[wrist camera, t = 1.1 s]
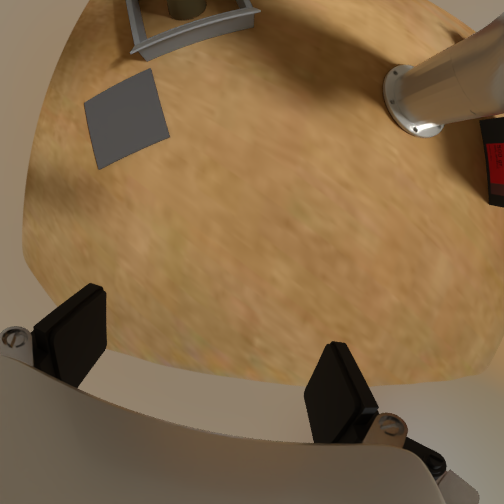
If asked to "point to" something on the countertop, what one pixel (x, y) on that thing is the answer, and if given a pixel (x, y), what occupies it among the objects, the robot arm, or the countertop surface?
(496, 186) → the cleaning product box
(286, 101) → the countertop surface
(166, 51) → the carton
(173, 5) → the cork
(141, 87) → the rubber mat
